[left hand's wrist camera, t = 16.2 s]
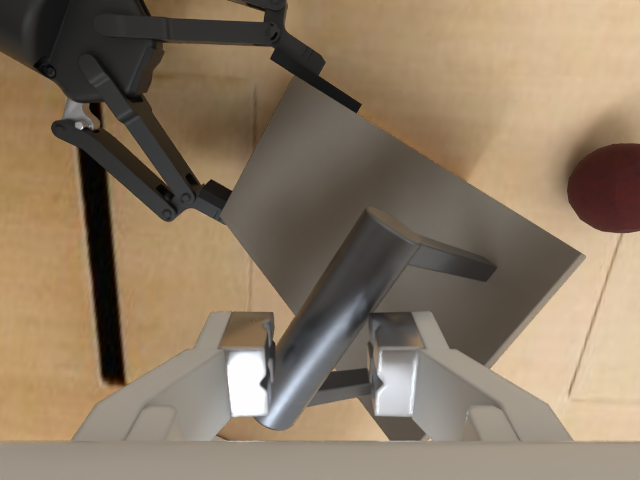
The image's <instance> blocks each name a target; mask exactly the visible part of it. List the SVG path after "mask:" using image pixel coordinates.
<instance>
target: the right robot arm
mask: <svg viewBox="0 0 640 480" xmlns="http://www.w3.org/2000/svg"><path fill="white" fill-rule="evenodd" d="M229 1H232V2H235V3H238V4H241V5H244V6H248V7H251V8H254V9H257V10H260V11H263V12H265V16H264V22H244V21H221V20H197V19H174V18H166V17H152V16H151V15H150V13H149V11H148V9H147V7H146V5H145V3H144V1H143V0H0V51H1V52H3V53H4V54H6V55H8V56H10V57H11V58H13V59H15V60H17V61H18V62H20V63H22V64H24V65H25V66H27V67H29V68H31V69H32V70H34V71H36V72H38V73H39V74H41V75H43V76H45V77H47V78H49V79H51V80H52V81H54V82H55V83H56V84H57V85H58V86H59V87H60V88H61V89H62V91H63V92H64V94H65V95H66V96H67V97H68V100H67V103H66V107H65V110H64V114H63V117H62V120H58V121H55V122H53V124H52V126H51V129H52V132H53V134H54V135H55V136H56V137H58V138H60V139H62V140H64V141H66V142H68V143H70V144H72V145H75V146H77V147H79V148H81V149H83V150H84V151H85V152H86V153H88V154H89V155H90V156H91V157H92V158H93V159H94V160H96V161H97V162H98V163H99V164H100V165H101V166H102V167H103V168H105V169H106V170H107V171H108V172H109V173H110V174H111V175H112V176H114V177H115V178H116V179H117V180H118V181H119V182H120V183H122V184H123V185H124V186H125V187H126V188H127V189H128V190H129V191H131V192H132V193H133V194H134V195H135V196H136V197H137V198H138V199H140V200H141V201H142V202H143V203H144V204H145V205H146V206H148V207H149V208H150V209H151V210H152V211H153V212H154V213H155V214H157V215H158V216H159V217H160V218H161V219H162V220H164V221H167V222H170V221H172V220H174V219H175V218H176V217H177V216H178V215H179V214H181V213H182V212H183V211H184V210H186V209H188V208H194V209H197V210H199V211H200V212H202V213H204V214H206V215H208V216H210V217H212V218H214V219H215V220H217V221H219V222H221V223H223V224H224V225H226V224H225V222H224V221H223V220H222V218H221V217H220V214H221V212H222V210H223V208H224V206H225V204H226V203H227V201H228V199H229V197H230V195H231V193H232V191H231V190H229V189H228V188H226V187H224V186H222V185H220V184H219V183H217V182H215V181H213V180H212V179H211V180H210V181H209V182H208V183H207V184H206V185H204V184H202V185H201V184H200V183H199V181H198V180H197V178H196V177H195V175H194V174H193V172H192V171H191V169H190V168H189V166H188V165H187V163H186V162H185V160H184V159H183V157H182V156H181V154H180V153H179V152H178V150H177V149H176V147H175V146H174V144H173V143H172V141H171V140H170V138H169V137H168V135H167V134H166V132H165V131H164V129H163V128H162V126H161V125H160V123H159V122H158V121H157V119H156V118H155V116H154V115H153V113H152V108H151V106H150V105H149V103H148V102H147V100H146V99H145V97H144V96H143V93H147V91H148V88H149V86H150V84H151V79H152V72H153V70H154V68H155V67H156V66H157V65H158V64H159V63H160V61H161V59H162V57H163V54H164V52H165V51H164V50H162V49H163V43H193V44H217V45H242V46H266V47H273V48H275V50H274V52H273V54H272V56H271V58H270V59H271V60H272V61H274V62H275V63H277V64H279V65H280V66H282V67H283V68H285V69H286V70H288V71H289V72H291V73H292V74H294V75H296V76H297V77H299V78H300V79H302V80H303V81H305V82H306V83H308V84H309V85H311V86H313V87H314V88H316V89H317V90H319V91H321V92H322V93H324V94H325V95H327V96H329V97H330V98H332V99H334V100H335V101H337V102H338V103H340V104H342V105H343V106H345V107H346V108H348V109H350V110H351V111H353V112H355V113H357V112H358V110H359V108H360V107H361V105H362V104H360V103H359V102H357V101H356V100H354V99H353V98H351V97H350V96H348V95H347V94H345V93H344V92H342V91H341V90H339V89H338V88H336V87H335V86H333V85H332V84H330V83H329V82H327V81H325V80H324V79H322V78H321V77H319V76H318V75H319V73H320V72H321V70H322V68H323V66H324V64H325V63H326V62H325V61H324V59H323V58H322V56H321V55H320V54H318V53H317V52H315V51H314V50H312V49H311V48H309V47H308V46H306V45H305V44H303V43H302V42H300V41H299V40H297V39H296V38H294V37H293V36H291V35H290V34H289V33H288V32H287V31H286V29H285V18H286V11H287V8H288V4H287V0H229ZM97 102H105V103H106V104H107V105H108V107H109V108H110V110H111V111H112V112H113V114H114V115H115V117H116V118H117V119H118V120H119V121H120V122H122V123H123V124H125V126H126V127H127V128H128V130H129V131H130V133H131V134H132V135H133V137H134V138H135V140H136V141H137V142H138V144H139V145H140V147H141V148H142V149H143V151H144V152H145V154H146V155H147V157H148V158H149V159H150V161H151V162H152V164H153V165H154V166H155V168H156V169H157V171H158V172H159V174H160V175H161V176H162V178H163V179H164V181H165V182H166V183H167V185H168V186H169V187H168V186H167V185H166V184H165V183H164V182H163V181H162V180H161V179H160V178H158V177H157V176H156V175H155V174H154V173H153V172H152V171H151V170H150V169H149V168H148V167H146V166H145V165H144V164H143V163H142V162H141V161H140V160H139V159H138V158H137V157H136V156H134V155H133V154H132V153H131V152H130V151H129V150H128V149H127V148H126V147H125V146H124V145H122V144H121V143H120V142H119V141H118V140H117V139H116V138H115V137H114V136H112V135H111V134H110V133H109V132H107V131H106V130H104V129H102V128H100V121H99V120H98V119H97V118H96V117H95V116H94V115H93V114H92V113H91V112H90V110H89V103H97Z"/></svg>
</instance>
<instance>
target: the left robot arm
mask: <svg viewBox="0 0 640 480" xmlns="http://www.w3.org/2000/svg"><path fill="white" fill-rule="evenodd" d="M368 331H369V336H370V341H369V342H368V343H367V370H368V378H369V382H370V383H371V384H372V387H371V397H372V403H373V408H374V414H375V416H397V417H412V419H413V420H414V421H415V422H416V423H417V425H418V426H419V427H420V428H421V429H422V430H423V431H424V432H425V433H426V434H427V435H428V436H429V437H430V438H431V439H432V441H227V440H225V439H223V438H221V437H218V436H216V434H217V433H218V432H219V431H220V430H221V429H222V428H223V427H224V426H225V425H226V424H227V423H228V421H229V420H230V419H231V417H245V416H268V413H269V407H270V401H271V383H272V382H274V375H275V355H276V352H275V342H274V341H273V334H274V315H273V312H232V311H214V312H211V313H210V315H209V317H208V319H207V321H206V323H205V325H204V327H203V329H202V331H201V333H200V336H199V338H198V340H197V342H196V344H195V346H194V348H193V349H186V350H185V351H183V352H181V353H180V354H178V355H176V356H175V357H173V358H171V359H170V360H168V361H166V362H165V363H163V364H161V365H160V366H158V367H156V368H155V369H153V370H151V371H150V372H148V373H146V374H145V375H143V376H141V377H140V378H138V379H137V380H135V381H133V382H132V383H130V384H128V385H127V386H125V387H123V388H122V389H120V390H118V391H117V392H115V393H113V394H112V395H110V396H108V397H107V398H105V399H103V400H102V401H100V402H98V403H97V404H96V405H95V406H94V408H93V409H92V411H91V412H90V413H89V415H88V416H87V418H86V419H85V421H84V422H83V424H82V425H81V426H80V428H79V429H78V431H77V432H76V434H75V435H74V436H73V438H72V439H71V441H0V480H640V441H574V440H573V439H572V438H571V436H570V435H569V433H568V432H567V430H566V429H565V428H564V426H563V425H562V423H561V422H560V420H559V419H558V418H557V416H556V415H555V413H554V412H553V410H552V409H551V408H550V406H549V405H548V404H547V403H545V402H544V401H542V400H540V399H539V398H537V397H535V396H534V395H532V394H530V393H529V392H527V391H525V390H523V389H522V388H520V387H518V386H517V385H515V384H513V383H512V382H510V381H508V380H507V379H505V378H503V377H502V376H500V375H498V374H497V373H495V372H493V371H492V370H490V369H488V368H487V367H485V366H483V365H482V364H480V363H478V362H477V361H475V360H473V359H472V358H470V357H468V356H467V355H465V354H463V353H462V352H460V351H458V350H457V349H450V348H449V346H448V344H447V342H446V340H445V338H444V336H443V334H442V332H441V330H440V328H439V326H438V324H437V322H436V320H435V318H434V316H433V314H432V312H430V311H418V312H378V313H369V320H368Z"/></svg>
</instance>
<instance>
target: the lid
mask: <svg viewBox="0 0 640 480" xmlns="http://www.w3.org/2000/svg"><path fill="white" fill-rule="evenodd" d="M220 217H221V218H222V220H223V221H224V222H225V224H226V225H227V226H228V228H229V229H230V230H231V232H232V233H233V234H234V236H235V237H236V238H237V240H238V241H239V242H240V243H241V245H242V246H243V247H244V249H245V250H246V251H247V253H248V254H249V255H250V257H251V258H252V259H253V261H254V262H255V263H256V265H257V266H258V267H259V269H260V270H261V271H262V272H263V274H264V275H265V276H266V278H267V279H268V280H269V282H270V283H271V284H272V286H273V287H274V288H275V290H276V291H277V292H278V294H279V295H280V296H281V298H282V299H283V300H284V301H285V303H286V304H287V305H288V307H289V308H290V309H291V311H292V312H293V313H294V315H295V317H294V319H293V320H292V322H291V324H290V325H289V327H288V328H287V330H286V331H285V333H284V334H283V336H282V337H281V339H280V341H279V342H278V344H277V345H276V347H275V352H276V355H275V375H274V382H272V383H271V401H270V407H269V413H268V416H253V417H254V418H255V420H257V421H258V422H259V423H260V424H262V425H263V426H265V427H267V428H269V429H272V430H278V431H279V430H286V429H288V428H290V427H291V426H293V424H294V423H295V422H296V420H297V419H298V417H299V416H300V415H301V413H302V412H303V410H304V409H305V408H306V407H310V406H315V405H320V404H325V403H330V402H335V401H340V400H345V399H350V398H355V397H357V398H358V399H359V400H360V402H361V403H362V404H363V406H364V407H365V408H366V410H367V411H368V412H369V414H370V415H371V416H372V418H373V419H374V420H375V421H376V423H377V424H378V425H379V427H380V428H381V429H382V431H383V432H384V433H385V435H386V436H387V437H388V439H389V440H390V441H428V440H429V439H430V437H429V436H428V435H427V434H426V433H425V432H424V431H423V430H422V429H421V428H420V427H419V426H418V425H417V423H416V422H415V421H414V420H413V419H412V417H397V416H375V414H374V408H373V403H372V397H371V387H372V384H371V383H370V382H369V378H368V370H367V343H368V342H369V341H370V336H369V331H368V320H369V313H378V312H418V311H430V312H432V314H433V316H434V318H435V320H436V322H437V324H438V326H439V328H440V330H441V332H442V334H443V336H444V338H445V340H446V342H447V344H448V346H449V348H450V349H457V350H458V351H460V352H462V353H463V354H465V355H467V356H468V357H470V358H472V359H473V360H475V361H477V362H478V363H480V364H482V365H483V366H485V367H487V368H488V369H490V368H491V367H492V366H493V365H494V364H495V362H496V361H497V360H498V359H499V358H500V357H501V356H502V354H503V353H504V352H505V351H506V350H507V349H508V347H509V346H510V345H511V344H512V343H513V342H514V341H515V339H516V338H517V337H518V336H519V335H520V334H521V332H522V331H523V330H524V329H525V328H526V327H527V325H528V324H529V323H530V322H531V321H532V320H533V319H534V317H535V316H536V315H537V314H538V313H539V312H540V310H541V309H542V308H543V307H544V306H545V305H546V303H547V302H548V301H549V300H550V299H551V298H552V297H553V295H554V294H555V293H556V292H557V291H558V290H559V288H560V287H561V286H562V285H563V284H564V283H565V282H566V280H567V279H568V278H569V277H570V276H571V275H572V273H573V272H574V271H575V270H576V269H577V268H578V266H579V265H580V264H581V263H582V262H583V261H584V260H585V258H586V256H585V255H584V254H582V253H581V252H579V251H577V250H576V249H574V248H573V247H571V246H569V245H568V244H566V243H564V242H563V241H561V240H560V239H558V238H556V237H555V236H553V235H552V234H550V233H548V232H547V231H545V230H543V229H542V228H540V227H539V226H537V225H535V224H534V223H532V222H531V221H529V220H527V219H526V218H524V217H522V216H521V215H519V214H518V213H516V212H514V211H513V210H511V209H510V208H508V207H506V206H505V205H503V204H502V203H500V202H498V201H497V200H495V199H493V198H492V197H490V196H489V195H487V194H485V193H484V192H482V191H481V190H479V189H477V188H476V187H474V186H472V185H471V184H469V183H468V182H466V181H464V180H463V179H461V178H460V177H458V176H456V175H455V174H453V173H451V172H450V171H448V170H447V169H445V168H443V167H442V166H440V165H439V164H437V163H435V162H434V161H432V160H430V159H429V158H427V157H426V156H424V155H422V154H421V153H419V152H418V151H416V150H414V149H413V148H411V147H409V146H408V145H406V144H405V143H403V142H401V141H400V140H398V139H397V138H395V137H393V136H392V135H390V134H388V133H387V132H385V131H384V130H382V129H380V128H379V127H377V126H376V125H374V124H372V123H371V122H369V121H367V120H366V119H364V118H363V117H361V116H359V115H358V114H356V113H355V112H353V111H351V110H350V109H348V108H346V107H345V106H343V105H342V104H340V103H338V102H337V101H335V100H334V99H332V98H330V97H329V96H327V95H325V94H324V93H322V92H321V91H319V90H317V89H316V88H314V87H313V86H311V85H309V84H308V83H306V82H304V81H303V80H301V79H300V78H298V77H296V76H293V78H292V80H291V82H290V84H289V86H288V87H287V89H286V91H285V93H284V95H283V97H282V99H281V101H280V102H279V104H278V106H277V108H276V110H275V112H274V114H273V116H272V118H271V119H270V121H269V123H268V125H267V127H266V129H265V131H264V133H263V135H262V136H261V138H260V140H259V142H258V144H257V146H256V148H255V150H254V152H253V153H252V155H251V157H250V159H249V161H248V163H247V165H246V167H245V169H244V170H243V172H242V174H241V176H240V178H239V180H238V182H237V184H236V186H235V187H234V189H233V191H232V193H231V195H230V197H229V199H228V201H227V203H226V204H225V206H224V208H223V210H222V212H221V214H220ZM334 367H335V369H336V370H337V371H333V372H331V371H332V370H333V369H334Z"/></svg>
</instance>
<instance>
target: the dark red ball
mask: <svg viewBox="0 0 640 480" xmlns="http://www.w3.org/2000/svg"><path fill="white" fill-rule="evenodd" d="M567 193H568V199H569V203H570V205H571V206H572V208H573V209H574V211H575V212H576V214H577V215H578V217H579V218H580V220H582V221H584V222H585V223H587V224H588V225H590V226H592V227H593V228H595V229H598V230H600V231H604V232H613V233H631V232H636V231H640V144H633V143H628V144H612V145H609V146H606V147H602V148H600V149H597V150H595V151H594V152H592V153H591V154H589V155H588V156H587V157H585V158H584V159H583V160H582V161H581V162H580V163H579V165H578V166H577V167H576V168H575V169H574V171H573V173H572V175H571V176H570V179H569V183H568V189H567Z"/></svg>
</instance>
